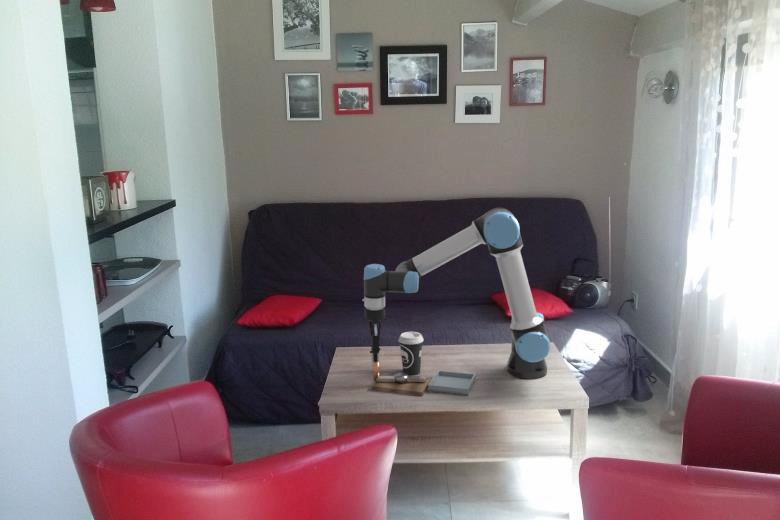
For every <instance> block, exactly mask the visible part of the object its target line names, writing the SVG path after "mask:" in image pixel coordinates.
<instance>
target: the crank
mask: <svg viewBox="0 0 780 520" xmlns="http://www.w3.org/2000/svg"><path fill="white" fill-rule="evenodd" d="M372 373H373V374H372V380H373V382H396V383H406V382H426V377H427V376H426V375H424V376H423V375H422V376H421V375H419V376H417V375H408V374H406V373H403V372H396V373H394V374H395V375H394V376H381V373H380V360H379V361H373V369H372Z"/></svg>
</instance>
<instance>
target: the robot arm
mask: <svg viewBox="0 0 780 520" xmlns="http://www.w3.org/2000/svg"><path fill="white" fill-rule="evenodd" d="M520 229H521V228H520V223H519V222H518V219H517V218H516V217H515V214H513V212H511V210H509V209H506V208H504V207H495V208H492V209H490V210H488V211H487V212H485V213H484V214H482V215H481V216H479V217H478V218H476V219H475V220H472V222H471V225H469V226H467V227H466V228H464V229H462V230H461V231H459V232H457V233H455V234H454V235H451V236H450V237H447V238H446V239H445V240H443V241H441V242H438V243H437V244H435V245H433V246H432V247H430V248H428V249H426V250H424V251H423V252H421V253H419V254H418V255H416V256H414V257H411V259H408V260H405V261H402V262H401V263H399V264H398V265H397V266H396V268H395V271H394V270H393V271H392V270H386V266H384V265H383V264H378V263H371V264H367V265H365V267H364V268H363V270H364V271H363V297H364V298H362V302H363V303H364V305H363V306H364V308H363V310H364V316H363V317H364V318H365V319H366V320H368V321H369V322H368V323H369V324H368V325H369V333H370V350H369V353H370V355H371V356H370V357H371V359H370V361H371V362H370V363H371V370H373V361H379V362H380V351H381V348H380V335H381V329H382V328H381V327H382V326H381V320H383V319H385V318H386V293H400V294H401V293H402V294H403V293H404V294H412V293H414V294H415V293H417V292H418V291H419V283H420V278H421V277H422V276H424V275H426V274H428V273H430V272H432V271H434V270H435V269H437V268H439V267H441V266H442V265H445V264H446V263H448V262H450V261H452V260H454V259H455V258H457V257H459V256H461V255H462V254H464V253H466V252H469V251H470V250H472V249H474V248H475V247H477V246H479V245H482V244H483V245H487V246H488V247H487V248H488V252H489V254H490V255H491V256H493V257H495V261H496V264H497V267H498V270H499V275H500V278H501V279H500V280H501V282H502V286H503V289H504V293H505V297H506V301H507V305H508V308H509V311H510V314H511V320H510V322H511V323H510V325H509V328H510V331H511V349H510V351H511V352H510V354H509V357H508V358H507V363H506V372H507V373H508V374H509V375H510V376H511V377H515V378H519V379H525V380H527V379H528V380H532V379H534V380H535V379H539V378H540V379H541V378H543V377H545V376H546V375H547V374H548V366H547V365H548V364H547V362H546V361H547V360H546V358H547V356H548V355H549V353H550V351H551V342H550V339H549V337H548V333H547V331H546V326H545V323H544V322H545V317H544V315H543V314H542V313H541V312H537V310H536V309H537V308H536V306H535V303H534V298H533V295H532V291H531V287H530V284H529V279H528V275H527V271H526V268H525V264H524V260H523V257H522V254H521V253H522V252H521V250H522V248H523V247H524V243H523V240H522V235H521V232H520V231H521V230H520Z"/></svg>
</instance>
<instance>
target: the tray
mask: <svg viewBox="0 0 780 520" xmlns="http://www.w3.org/2000/svg"><path fill="white" fill-rule="evenodd" d="M431 378H432V380H431V381H430V383H429V384H428V389H427V392H429V393H439V394H448V395H456V396H466V397H469V395H470V393H471V391H472V389H473V387H474V385H475V383H476V381H477V373H471V372H462V371H461V372H459V371H450V370H441V369H438V370H437V371H436V372H435V374H434V375H433V377H431Z"/></svg>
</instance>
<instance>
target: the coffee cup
mask: <svg viewBox="0 0 780 520" xmlns="http://www.w3.org/2000/svg"><path fill="white" fill-rule="evenodd" d="M424 340H425V339H424V337H423V335H422V334H421V333H420V332H417V331H405V332H402V333H401V334H400V335H399V338H398V340H397V341H398V343H399V348H400V354H401V355H400V356H401V364H402V373H406V374H408V376H417V375H419V374H421V366H422V365H421V364H422V363H421V362H422V353H423V351H422V350H423V342H424Z"/></svg>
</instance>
